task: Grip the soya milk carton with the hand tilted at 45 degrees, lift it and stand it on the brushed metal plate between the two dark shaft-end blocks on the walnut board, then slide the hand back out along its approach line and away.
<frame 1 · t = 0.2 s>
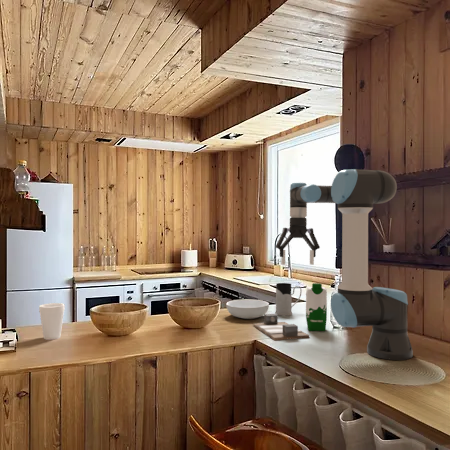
hand: (297, 264, 202), 27 cm above the worktop, tool pointing down, fingers open, 13 cm apart
soya milk: (316, 329, 196), on the worktop
spacer cradle: (279, 331, 191), on the worktop
foam cup: (52, 338, 180), on the worktop
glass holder: (288, 313, 229), on the worktop
serving bowl: (247, 317, 220), on the worktop
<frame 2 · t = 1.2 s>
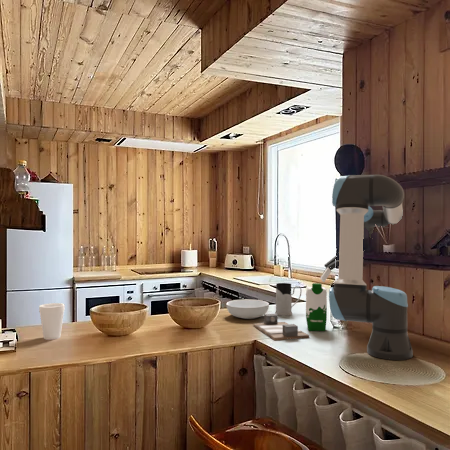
hand: (332, 281, 201), 20 cm above the worktop, tool tilted 45°, fingers open, 13 cm apart
nothing on the worktop moved.
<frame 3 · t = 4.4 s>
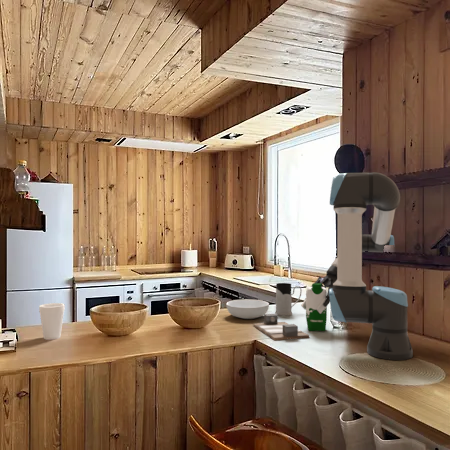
hand: (310, 309, 194), 9 cm above the worktop, tool tilted 45°, fingers closed on soya milk, 9 cm apart
soya milk: (316, 329, 196), on the worktop, touching gripper
everything else where it was.
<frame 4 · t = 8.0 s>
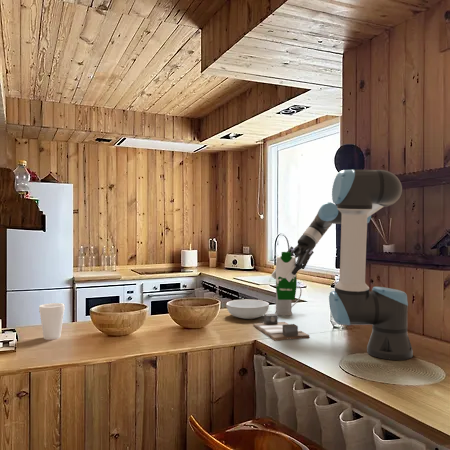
hand: (280, 278, 191), 23 cm above the worktop, tool tilted 45°, fingers closed on soya milk, 9 cm apart
soya milk: (286, 298, 193), point 14 cm above the worktop, touching gripper
everything else where it was.
when the fingers open (11 cm above the worktop, at t = 11.6 s): soya milk moves 3 cm, point 2 cm above the worktop.
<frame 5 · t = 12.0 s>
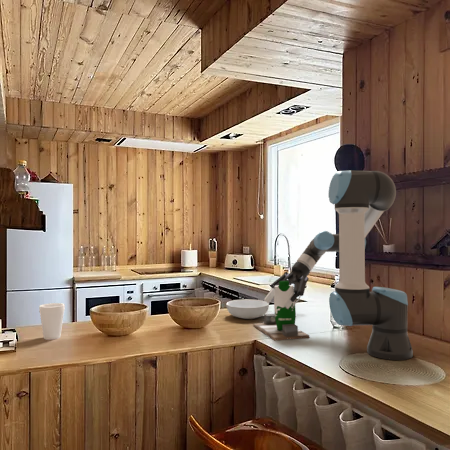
hand: (275, 304, 190), 12 cm above the worktop, tool tilted 45°, fingers open, 13 cm apart
soya milk: (285, 329, 189), point 2 cm above the worktop, touching gripper
everything else where it was.
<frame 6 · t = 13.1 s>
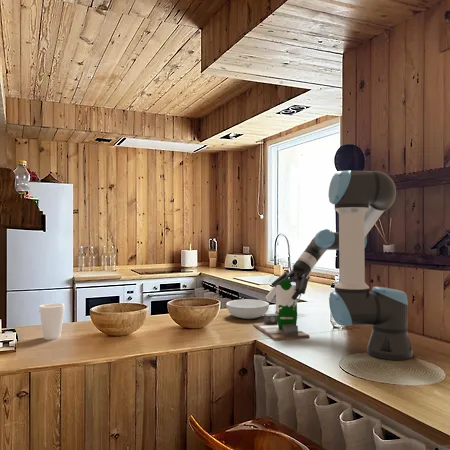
hand: (277, 302, 190), 13 cm above the worktop, tool tilted 45°, fingers open, 13 cm apart
soya milk: (287, 328, 188), point 2 cm above the worktop, touching spacer cradle
everything else where it was.
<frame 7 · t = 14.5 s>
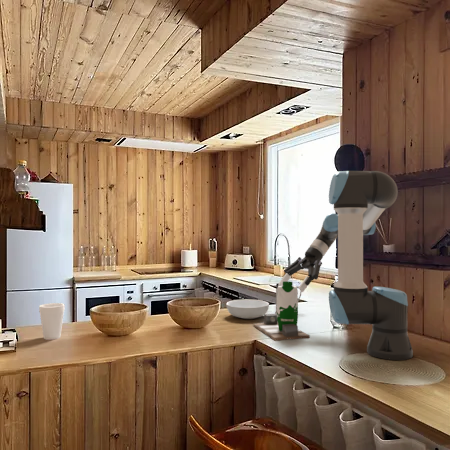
hand: (290, 288, 194), 18 cm above the worktop, tool tilted 45°, fingers open, 13 cm apart
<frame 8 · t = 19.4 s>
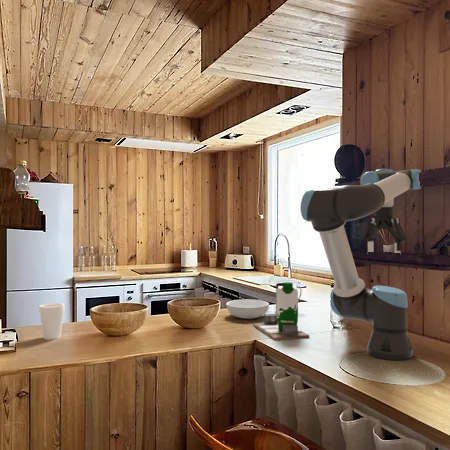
hand: (383, 257, 187), 32 cm above the worktop, tool pointing down, fingers open, 13 cm apart
at the end: soya milk inside the target area on the spacer cradle (3.8 cm from its centre), point 1.1 cm above the spacer cradle's base; soya milk tilted 0°; the gripper is holding nothing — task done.
